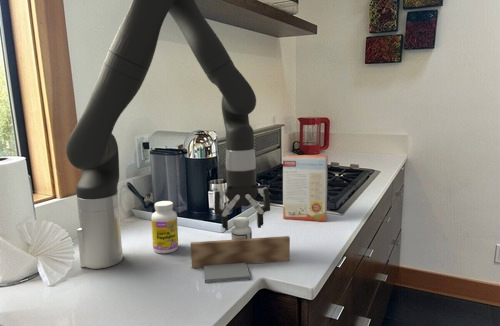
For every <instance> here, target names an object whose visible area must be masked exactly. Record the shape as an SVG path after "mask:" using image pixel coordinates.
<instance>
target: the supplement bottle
mask: <svg viewBox="0 0 500 326" xmlns="http://www.w3.org/2000/svg"><path fill="white" fill-rule="evenodd" d="M173 209H174V202H172V201H170V200H161V201H157V202H155V203H154V210H155V211H154V212H153V213H152V214H151V235H152V250H153V251H154V252H155V253H158V254H170V253H173V252H175V251H176V250H177V249H178V248H179V238H178V237H179V231H178V230H179V228H178V214H177V212H176V211H175V210H173Z"/></svg>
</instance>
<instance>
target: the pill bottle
mask: <svg viewBox="0 0 500 326" xmlns="http://www.w3.org/2000/svg"><path fill="white" fill-rule="evenodd" d="M249 225H250V219H249V217H243V216H239V217H235V218H233V226H232V228H231V240H235V239H251V238H253V232H252V231H253V230H252V227H251V226H249Z"/></svg>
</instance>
